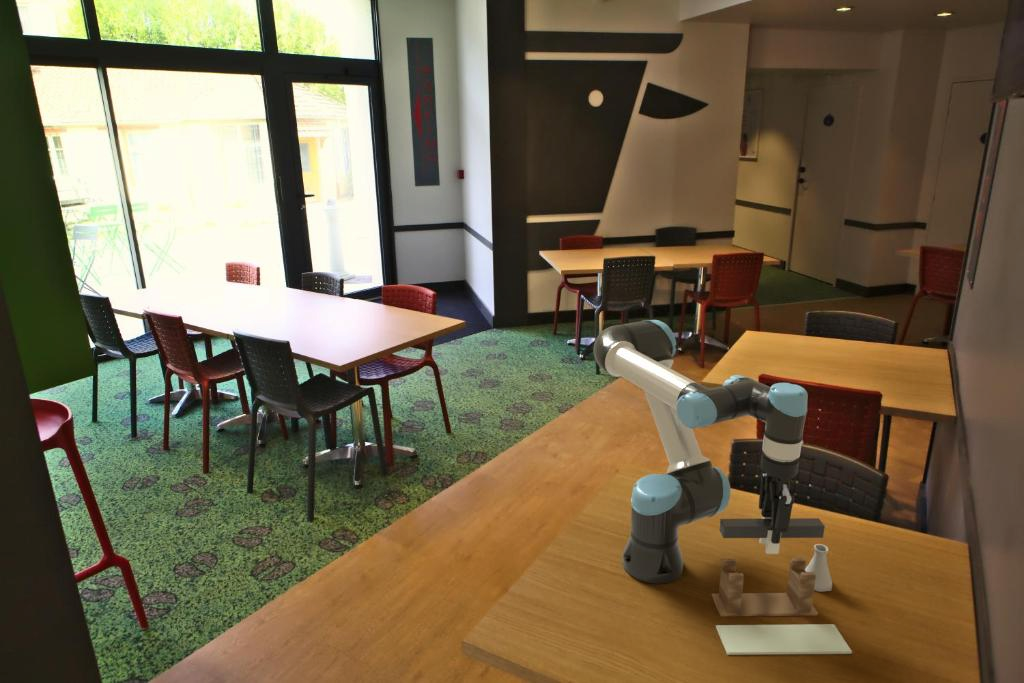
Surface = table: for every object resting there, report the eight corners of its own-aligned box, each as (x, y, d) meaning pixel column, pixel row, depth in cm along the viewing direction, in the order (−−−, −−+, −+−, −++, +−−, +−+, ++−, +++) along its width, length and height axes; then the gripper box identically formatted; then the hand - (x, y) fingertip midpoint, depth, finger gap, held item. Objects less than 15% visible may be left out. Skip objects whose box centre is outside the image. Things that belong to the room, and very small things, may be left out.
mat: (727, 654, 136) (727, 652, 136) (716, 627, 144) (716, 625, 143) (851, 653, 136) (851, 651, 135) (833, 626, 143) (833, 624, 143)
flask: (836, 594, 153) (841, 558, 150) (803, 590, 155) (808, 555, 152) (828, 575, 160) (833, 540, 157) (797, 572, 162) (801, 537, 159)
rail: (723, 538, 144) (724, 526, 143) (719, 530, 146) (720, 518, 146) (822, 537, 143) (824, 526, 142) (816, 529, 146) (818, 518, 145)
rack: (720, 616, 147) (724, 577, 144) (711, 595, 154) (715, 557, 151) (817, 615, 147) (823, 576, 144) (804, 594, 153) (809, 556, 150)
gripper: (814, 473, 131) (800, 570, 138) (783, 437, 146) (772, 527, 154) (777, 473, 131) (765, 570, 138) (750, 437, 147) (740, 527, 154)
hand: (768, 547), depth 146 cm, fingers closed on rail, 3 cm apart
